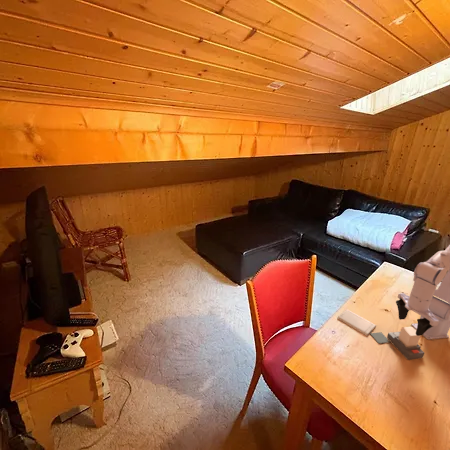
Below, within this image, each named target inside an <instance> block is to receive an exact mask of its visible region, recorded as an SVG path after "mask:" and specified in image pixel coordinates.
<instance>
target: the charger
mask: <svg viewBox="0 0 450 450" xmlns="http://www.w3.org/2000/svg"><path fill="white" fill-rule="evenodd" d="M400 331H401V332H400ZM400 331H399V332H400V334H399V337H398V339H399V340H400V341H401V342H402V343H403V344H404V345H405V346H406V347H407V348H408V347H417V344H418V345H419V341H420V338H421V336H422V335H420V336H417V335H416V329H415V328H414V327H413V326H412V325H411V326H402V327H401V329H400Z"/></svg>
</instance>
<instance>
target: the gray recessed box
mask: <svg viewBox="0 0 450 450" xmlns="http://www.w3.org/2000/svg"><path fill="white" fill-rule="evenodd" d="M400 332H401V330H400V331H394V332H393V331H390V332H388V334H387V335H386V338H387V339H388V340H389V341H390V344H392V345H393V346H394V347H395V348H396V349H397V350H398V351H399V352H400V354H401V355H403V356H404V358H405V359H406V360H407V361H408V360H416V359H417V360H418V359H423V358H424V356H425V351H424V350H422V349H421V348H422V347H421V345H419V343H418V344H417V347H408V348H407V347H406V346H405V345H404V344H403V343H402V342H401V341H400V340H399V339H398V337H399V334H400Z"/></svg>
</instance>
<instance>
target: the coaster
mask: <svg viewBox="0 0 450 450" xmlns="http://www.w3.org/2000/svg"><path fill="white" fill-rule="evenodd" d="M369 335H371V337H372V338H373V340H375V341H376V343H378V345H379V344H389V343H390V344H391V341H390V340H389V339H388V338H387V336H386V335H385V334H384V333H382V332H381V331H380V332H370V333H369Z"/></svg>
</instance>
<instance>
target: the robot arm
mask: <svg viewBox="0 0 450 450" xmlns="http://www.w3.org/2000/svg"><path fill="white" fill-rule="evenodd" d="M412 281H413V284H412V288H411V291H410V294H409V295H407V294H406V293H404V292H400V293H399V292H398V294H397V300H396V301H395V304H396V307H397V310H398V312H397V313H398V319H399V320H401V321H402V320H406V318H407V316H408V314H409V311H412V312H414V313H416V314H418V315H419V316H420V317H419V318H417V319H416V322H417V323H411V326H412V327H413V328H414V329H415V330H416V335H417V336H420V335H421V336H423V337H424V338H425V339H426V340H437V339H446V338H449V337H450V336H449V335H448V333H449V330H450V244H449V245H448V246H447V247H446V248H445V250H439V251H437V252H436V253H434V255H432V256H431V257H429V259H427V260H426V261H423V262H422V261H421V262H419V263H418V264H417V265H416V267H415V269H414V271H413V280H412ZM437 287H438V288H437ZM421 336H420V337H421Z"/></svg>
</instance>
